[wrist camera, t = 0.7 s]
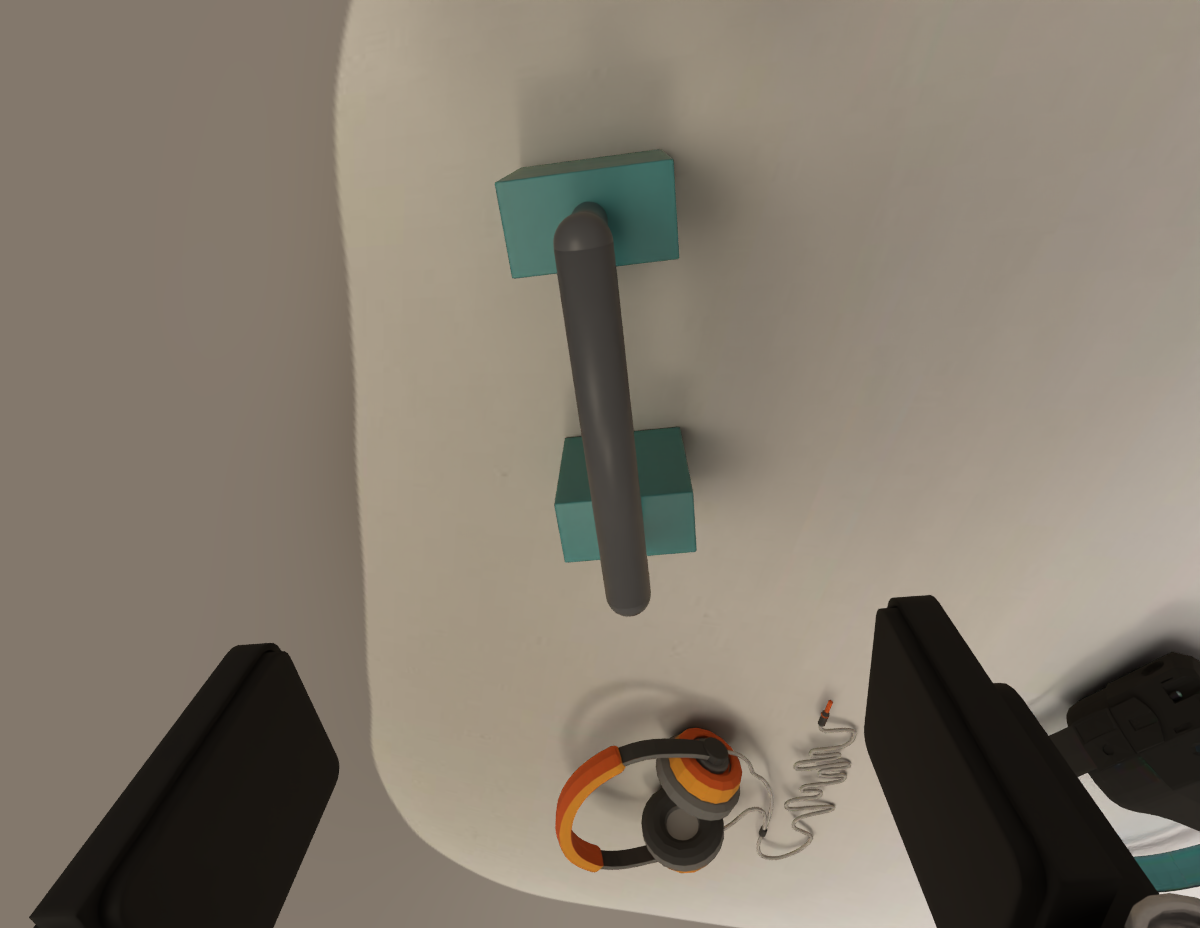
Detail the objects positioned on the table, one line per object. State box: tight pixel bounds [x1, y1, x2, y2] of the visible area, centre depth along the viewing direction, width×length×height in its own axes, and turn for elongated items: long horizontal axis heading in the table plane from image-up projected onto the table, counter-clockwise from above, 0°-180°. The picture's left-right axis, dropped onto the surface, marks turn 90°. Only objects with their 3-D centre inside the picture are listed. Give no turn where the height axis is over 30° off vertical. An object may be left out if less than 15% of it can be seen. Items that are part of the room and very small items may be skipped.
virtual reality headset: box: [1049, 652, 1200, 892], centre depth 37 cm, size 19×22×10 cm
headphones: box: [555, 700, 857, 873], centre depth 40 cm, size 17×5×20 cm
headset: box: [495, 149, 696, 616], centre depth 24 cm, size 15×6×11 cm, turn 7°
